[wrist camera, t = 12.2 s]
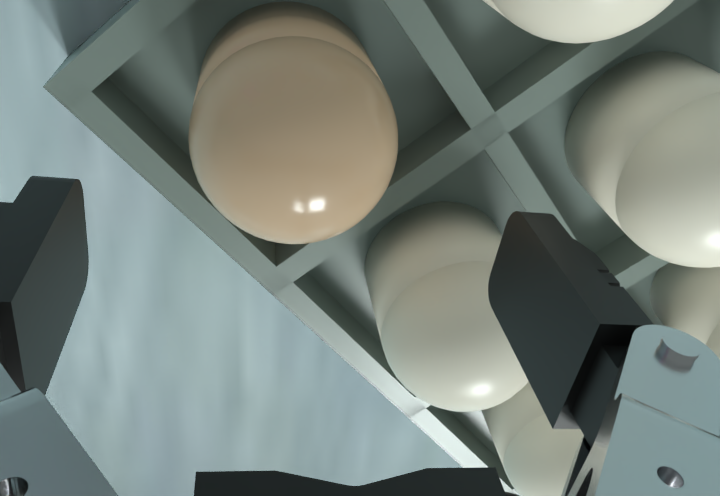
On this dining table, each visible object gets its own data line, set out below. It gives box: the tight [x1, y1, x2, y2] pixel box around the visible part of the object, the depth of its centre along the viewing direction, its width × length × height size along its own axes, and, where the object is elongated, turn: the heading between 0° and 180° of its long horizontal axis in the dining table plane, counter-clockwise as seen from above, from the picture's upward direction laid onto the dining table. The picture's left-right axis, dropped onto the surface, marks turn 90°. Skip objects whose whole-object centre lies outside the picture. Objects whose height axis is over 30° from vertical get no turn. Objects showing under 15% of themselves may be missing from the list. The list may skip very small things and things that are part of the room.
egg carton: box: [43, 0, 720, 496], centre depth 19 cm, size 25×17×7 cm
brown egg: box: [188, 1, 398, 244], centre depth 16 cm, size 5×5×6 cm
